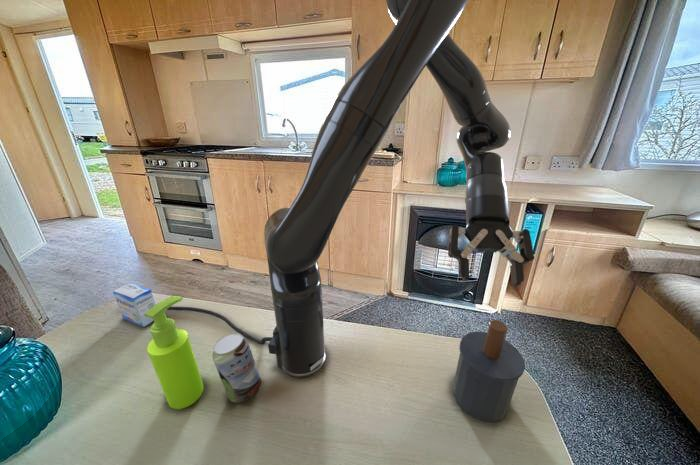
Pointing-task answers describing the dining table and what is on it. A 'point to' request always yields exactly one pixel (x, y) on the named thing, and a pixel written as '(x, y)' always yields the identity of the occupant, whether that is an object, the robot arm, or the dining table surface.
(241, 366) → the beverage can
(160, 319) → the soap dispenser
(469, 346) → the lid
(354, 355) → the dining table surface
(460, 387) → the tin
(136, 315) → the medicine box
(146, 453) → the dining table surface
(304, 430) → the dining table surface
